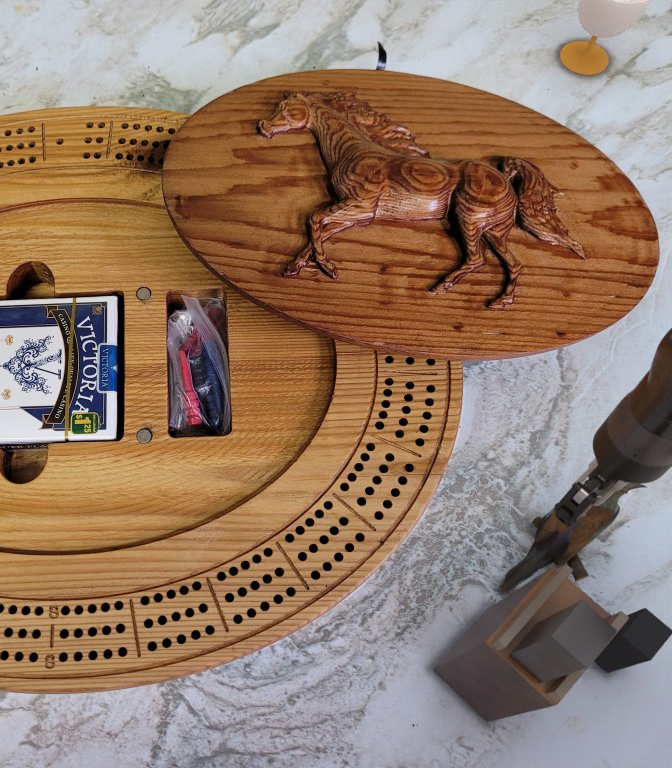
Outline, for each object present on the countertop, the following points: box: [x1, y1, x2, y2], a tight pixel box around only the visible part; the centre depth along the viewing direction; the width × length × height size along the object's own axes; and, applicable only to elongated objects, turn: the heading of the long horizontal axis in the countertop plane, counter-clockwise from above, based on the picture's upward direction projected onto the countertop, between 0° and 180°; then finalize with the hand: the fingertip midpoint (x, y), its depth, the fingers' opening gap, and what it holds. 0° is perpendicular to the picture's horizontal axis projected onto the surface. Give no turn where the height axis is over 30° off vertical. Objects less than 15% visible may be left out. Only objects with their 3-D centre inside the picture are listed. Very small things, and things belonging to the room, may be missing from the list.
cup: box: [559, 0, 653, 76], centre depth 152 cm, size 12×12×17 cm
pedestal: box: [432, 568, 554, 723], centre depth 101 cm, size 9×12×23 cm
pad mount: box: [485, 563, 629, 707], centre depth 85 cm, size 9×12×13 cm
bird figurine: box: [498, 478, 648, 594], centre depth 112 cm, size 13×10×20 cm
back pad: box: [593, 607, 672, 674], centre depth 106 cm, size 4×5×12 cm
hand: (587, 498), depth 97 cm, fingers open, 8 cm apart
